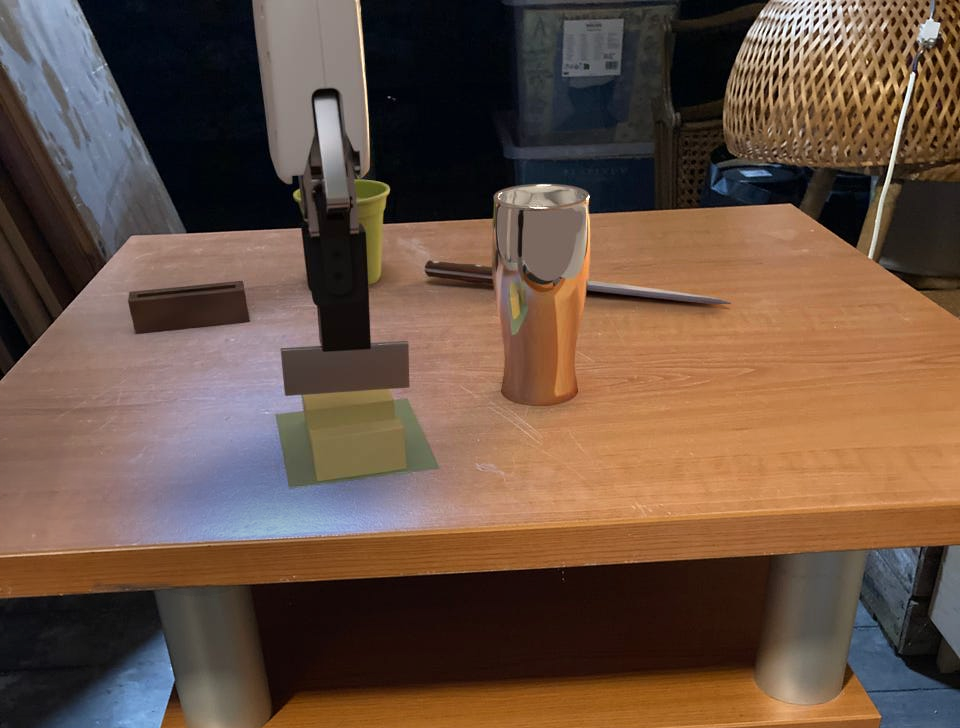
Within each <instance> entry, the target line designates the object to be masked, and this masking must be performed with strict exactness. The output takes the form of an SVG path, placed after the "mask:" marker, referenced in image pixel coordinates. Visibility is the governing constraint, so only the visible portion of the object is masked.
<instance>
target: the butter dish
mask: <svg viewBox="0 0 960 728" xmlns="http://www.w3.org/2000/svg"><path fill="white" fill-rule="evenodd" d="M394 407H395V419H400V421H401V423H402V426H403V428H404V439H405V452H406V464H407V469H403V470H396V471H388V472H381V473H374V474H367V475H360V476H353V477H345V478H338V479H331V480H324V481H317V478H316V475H315V470H314V463H313V456H312V449H311V444H310V440H309V436H308V432H307V427H306V423H305V417H304V410H299V411H291V412H282V413H275V418H276V424H277V429H278V435H279V439H280V440H279V442H280V447H281V451H282V456H283V463H284V468H285V474H286V479H287V484H288V489H290V490H291V489H298V488H305V487H312V486H321V485H328V484H336V483H342V482H349V481H350V482H351V481H357V480H365V479H373V478H378V477H387V476H388V477H389V476H395V475H403V474H409V473H417V472H423V471H430V470H439V469H440V466H439V463H438V462H437V459H436V457H435V455H434V453H433V451H432V449H431V447H430V444H429V443H428V440H427V438H426V436H425V433H424V431H423V429H422V426H421V424H420V422H419V420H418V418H417V415H416V413H415V411H414V409H413V407H412V405H411V402H410V400H409V397H406V398H397V399H394Z"/></svg>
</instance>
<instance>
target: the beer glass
mask: <svg viewBox="0 0 960 728" xmlns="http://www.w3.org/2000/svg"><path fill="white" fill-rule="evenodd" d="M590 217H591V216H590V193H589V192H588V191H587V190H585V189H583V188H581V187H577V186H573V185H568V184H557V183H531V184H521V185H515V186H509V187H505V188H503V189H501V190H499V191H496V192H495V194H494V195H493V212H492V227H491V229H492V230H491V267H492V278H493V284H492V286H493V293H494V299H495V304H496V310H497V315H498V320H499V327H500V330H501V336H502V342H503V343H502V344H503V352H504V353H503V354H504V368H503V376H502V382H501V389H500V393H501V395H502V396H503V398H505V400H507V401H509V402H510V403H513V404H517V405H523V406H528V407H550V406H551V407H552V406H557V405H562V404H564V403H567V402H570V401H571V400H573V399H574V398H576V396H577V395H578V393H579V388H578V387H579V385H578V380H577V374H576V373H577V372H576V349H577V341H578V337H579V333H580V332H579V331H580V327H581V322H582V317H583V313H584V307H585V303H586V297H587V291H588V290H587V285H588V280H589V279H590V267H591V220H590V219H591V218H590Z"/></svg>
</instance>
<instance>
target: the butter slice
mask: <svg viewBox="0 0 960 728" xmlns="http://www.w3.org/2000/svg"><path fill="white" fill-rule="evenodd" d="M309 435H310V442H311V449H312V456H313V463H314V470H315V475H316V478H317V481H324V480H331V479H338V478H345V477H353V476H360V475H367V474H374V473H381V472H388V471H396V470H403V469H407V464H406V452H405V439H404V428H403V426H402V423H401V421H400V419H393V420H385V421H377V422H370V423H362V424H354V425H347V426H339V427H331V428H324V429H316V430H309Z"/></svg>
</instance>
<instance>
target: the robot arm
mask: <svg viewBox="0 0 960 728" xmlns="http://www.w3.org/2000/svg"><path fill="white" fill-rule="evenodd" d="M251 1H252V13H253V22H254V31H255V32H254V33H255V41H256V48H257V57H258V65H259V74H260V81H261V88H262V89H261V90H262V97H263V104H264V105H263V106H264V113H265V123H266V130H267V141H268V149H269V154H270V158H271V161H272V164H273V168H274V170H275V173H276V175H277V177H278V178H279V180H281V181H282V182H283V183H285V184H286V185H293V177H295V176H298V185H299V189H300V195H301V204H302V212H303V214H302V217H303V222H300V229H301V230H300V231H301V239H302V247H303V255H304V256H303V257H304V264H305V273H306V281H307V287H308V290H309V291H310V293H311V299H312V302H313V304H314V305H315V306H316V307H317V306H330V305H341V304H352V303H361V302H364V301H365V300H366V298H367V293H366V281H365V269H364V257H363V244H362V232H361V230H359V224H358V212H357V200H356V188H355V179H356V178H357V180H362V179H363V177H365V176H366V174H368V172H369V171H370V168H371V167H370V165H371V164H370V163H371V155H370V154H371V151H370V147H371V145H370V126H369V123H370V122H369V105H368V88H367V77H366V63H365V48H364V35H363V21H362V13H361V12H362V6H361V0H251ZM355 177H356V178H355ZM302 212H301V213H302ZM306 221H308V222H306Z"/></svg>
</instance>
